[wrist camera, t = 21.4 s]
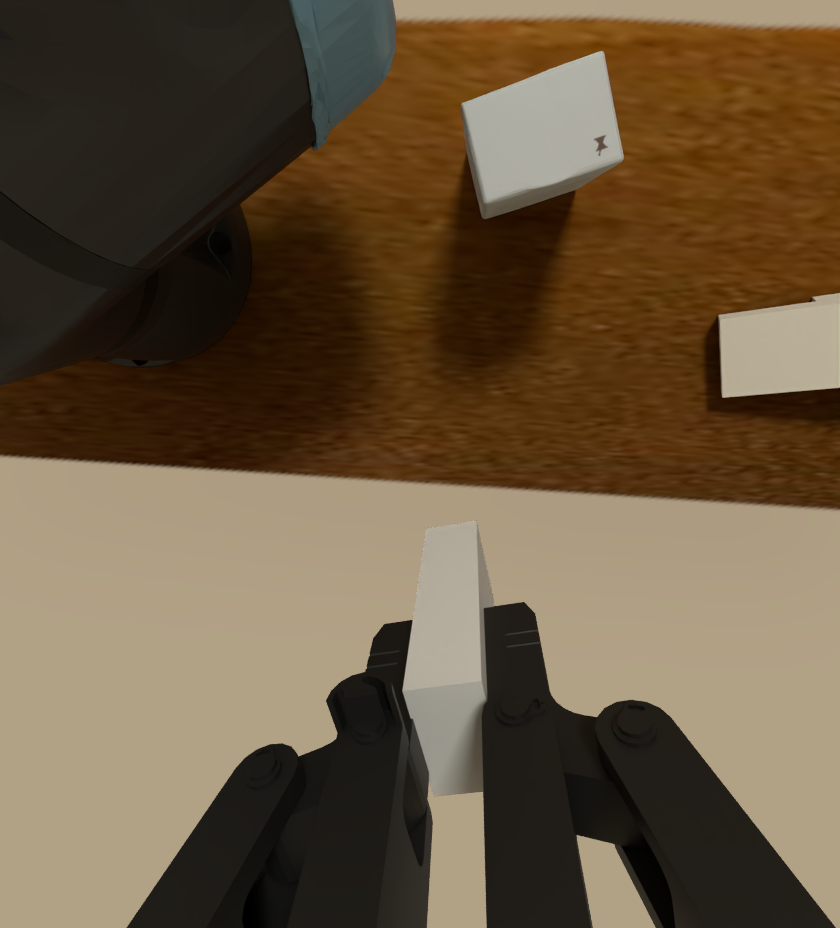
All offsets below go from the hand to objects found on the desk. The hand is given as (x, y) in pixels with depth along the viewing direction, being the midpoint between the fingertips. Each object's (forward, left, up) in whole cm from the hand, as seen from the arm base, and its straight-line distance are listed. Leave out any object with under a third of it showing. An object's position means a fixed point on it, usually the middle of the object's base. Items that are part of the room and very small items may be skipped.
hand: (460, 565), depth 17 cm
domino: (+10, +13, -23) cm, 28 cm away
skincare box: (-7, +12, -24) cm, 28 cm away
